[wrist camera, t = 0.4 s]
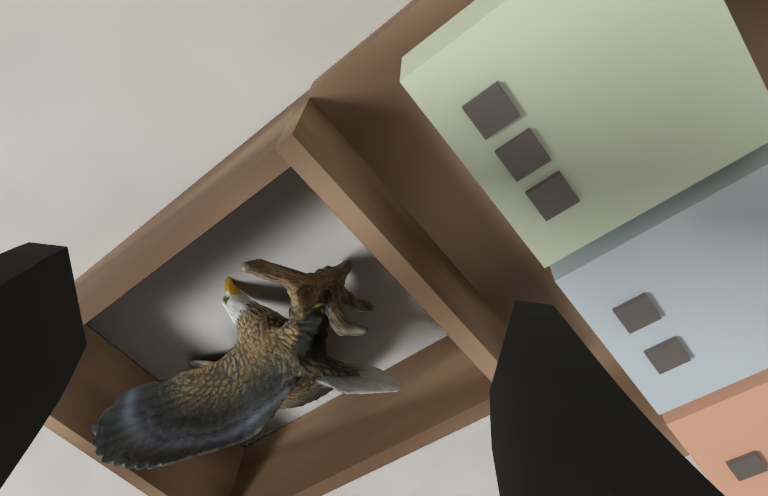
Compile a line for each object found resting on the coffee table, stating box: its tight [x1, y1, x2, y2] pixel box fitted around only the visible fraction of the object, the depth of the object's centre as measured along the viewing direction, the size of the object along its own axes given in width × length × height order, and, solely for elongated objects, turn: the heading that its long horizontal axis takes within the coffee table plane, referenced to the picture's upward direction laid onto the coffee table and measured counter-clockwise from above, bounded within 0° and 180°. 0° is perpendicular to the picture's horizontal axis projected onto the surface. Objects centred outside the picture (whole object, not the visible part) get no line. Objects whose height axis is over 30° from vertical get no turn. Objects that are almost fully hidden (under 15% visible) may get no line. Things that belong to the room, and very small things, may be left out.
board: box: [44, 0, 768, 496], centre depth 21 cm, size 20×26×4 cm
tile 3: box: [400, 0, 768, 268], centre depth 14 cm, size 6×6×2 cm
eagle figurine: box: [91, 259, 400, 470], centre depth 21 cm, size 8×7×9 cm
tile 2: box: [550, 143, 768, 415], centre depth 16 cm, size 6×6×2 cm
